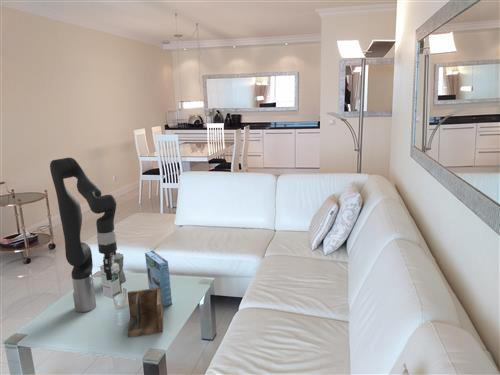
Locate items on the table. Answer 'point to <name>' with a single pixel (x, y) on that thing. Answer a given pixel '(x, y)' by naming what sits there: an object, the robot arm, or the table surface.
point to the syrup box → (111, 281)
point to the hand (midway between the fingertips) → (110, 275)
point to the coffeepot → (120, 265)
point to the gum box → (159, 276)
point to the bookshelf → (145, 312)
